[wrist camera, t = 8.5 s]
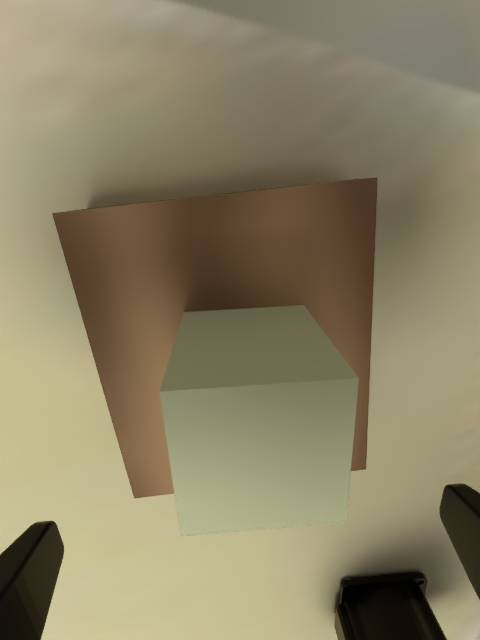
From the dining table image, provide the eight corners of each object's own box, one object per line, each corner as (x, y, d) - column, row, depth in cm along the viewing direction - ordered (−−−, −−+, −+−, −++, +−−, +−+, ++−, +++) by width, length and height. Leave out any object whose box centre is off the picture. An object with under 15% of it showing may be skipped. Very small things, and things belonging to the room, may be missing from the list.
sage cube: (304, 304, 14) (359, 378, 9) (301, 406, 16) (346, 522, 10) (183, 312, 14) (159, 391, 8) (194, 413, 16) (180, 536, 10)
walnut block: (341, 180, 16) (377, 177, 13) (340, 420, 21) (366, 469, 18) (90, 208, 16) (52, 213, 12) (149, 443, 21) (134, 498, 17)
